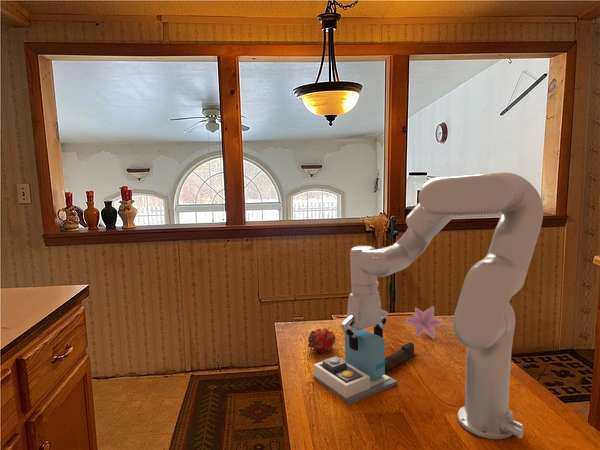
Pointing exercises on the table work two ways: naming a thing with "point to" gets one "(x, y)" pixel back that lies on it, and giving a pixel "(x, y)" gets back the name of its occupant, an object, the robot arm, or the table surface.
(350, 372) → the tagged breaker
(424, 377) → the table surface
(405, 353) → the hand tool
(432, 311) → the lily
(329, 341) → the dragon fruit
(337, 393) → the board
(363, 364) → the data package
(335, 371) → the grey square block
